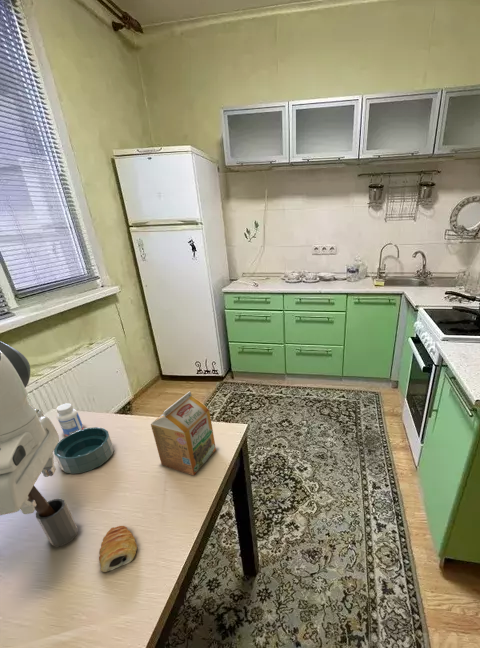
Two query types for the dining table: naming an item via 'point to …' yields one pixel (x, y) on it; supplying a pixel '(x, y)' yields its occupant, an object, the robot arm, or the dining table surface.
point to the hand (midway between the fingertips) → (41, 491)
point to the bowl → (84, 450)
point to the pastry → (117, 548)
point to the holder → (58, 524)
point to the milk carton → (184, 435)
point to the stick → (40, 503)
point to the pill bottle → (69, 419)
